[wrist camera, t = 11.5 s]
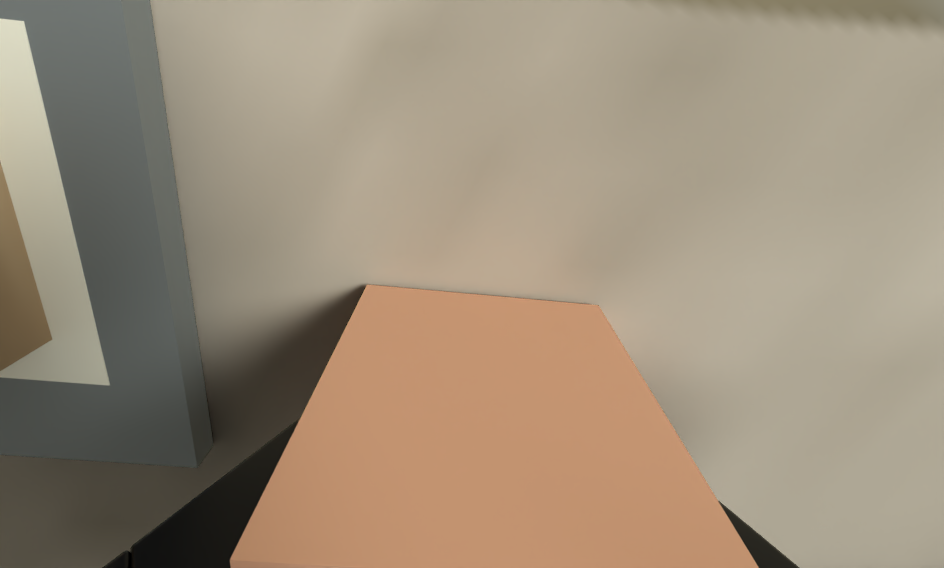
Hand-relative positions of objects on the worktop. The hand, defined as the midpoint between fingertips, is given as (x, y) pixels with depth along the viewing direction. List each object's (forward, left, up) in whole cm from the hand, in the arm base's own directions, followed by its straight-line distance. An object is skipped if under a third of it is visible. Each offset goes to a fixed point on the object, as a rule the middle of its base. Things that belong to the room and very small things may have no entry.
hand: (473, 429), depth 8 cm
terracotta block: (0, 0, -1) cm, 1 cm away
